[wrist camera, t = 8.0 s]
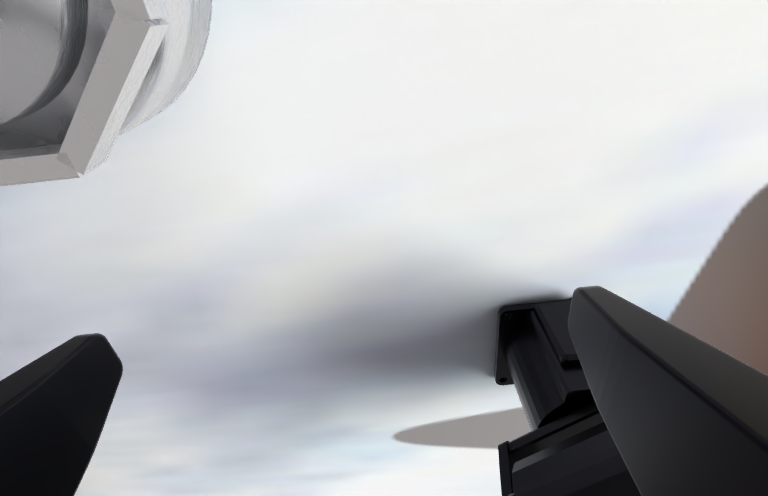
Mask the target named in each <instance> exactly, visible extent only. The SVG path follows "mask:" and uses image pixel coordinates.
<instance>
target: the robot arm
mask: <svg viewBox="0 0 768 496" xmlns="http://www.w3.org/2000/svg"><path fill="white" fill-rule="evenodd" d="M506 314H509V315H507V316H505V315H506ZM122 372H123V366H122V362H121V360H120V359H119V357H118V356H117V354H116V352H115V351H114V349H113V348H112V346H111V345H110V343H109V342H108V340H107V338H106V337H105V336H103V335H102V334H98V333H94V334H84V335H78V336H75V337H73V338H72V339H70V340H68V341H67V342H65V343H63V344H62V345H60V346H58V347H57V348H55V349H53V350H51V351H50V352H48V353H46V354H45V355H43V356H41V357H40V358H38V359H36V360H35V361H33V362H31V363H30V364H28V365H26V366H25V367H23V368H21V369H20V370H18V371H16V372H15V373H13V374H11V375H10V376H8V377H6V378H5V379H3V380H1V381H0V496H74V495H75V493H76V490H77V488H78V486H79V484H80V482H81V480H82V478H83V475H84V473H85V471H86V469H87V467H88V465H89V462H90V460H91V458H92V456H93V453H94V451H95V448H96V446H97V443H98V441H99V438H100V435H101V432H102V430H103V427H104V424H105V421H106V418H107V416H108V413H109V410H110V407H111V404H112V402H113V399H114V396H115V393H116V390H117V388H118V385H119V382H120V379H121V376H122ZM494 377H495V381H496V383H497V384H499V385H510V384H515V387H516V390H517V393H518V395H519V398H520V401H521V403H522V406H523V409H524V412H525V414H526V417H527V420H528V423H529V425H530V428H531V432H529V433H527V434H525V435H523V436H521V437H519V438H517V439H515V440H512V441H510V442H509V441H506V442H504V443H502V444H500V445H499V446H498V450H499V466H500V478H501V490H502V496H768V375H766V374H764V373H762V372H761V371H759V370H757V369H755V368H753V367H751V366H749V365H747V364H746V363H743V362H742V361H740V360H738V359H736V358H734V357H732V356H730V355H729V354H727V353H725V352H723V351H721V350H719V349H717V348H715V347H714V346H712V345H710V344H708V343H706V342H704V341H702V340H700V339H698V338H696V337H695V336H693V335H691V334H689V333H687V332H685V331H683V330H681V329H680V328H678V327H676V326H674V325H672V324H670V323H668V322H667V321H665V320H663V319H661V318H659V317H657V316H655V315H653V314H651V313H650V312H648V311H646V310H644V309H642V308H640V307H638V306H636V305H635V304H633V303H631V302H629V301H627V300H625V299H623V298H621V297H619V296H618V295H616V294H614V293H612V292H610V291H608V290H606V289H604V288H602V287H600V286H589V287H579V288H577V289H575V291H574V293H573V296H572V300H564V301H554V302H543V303H532V304H522V305H511V306H505V307H502V308H501V309H500V310H499V312H498V321H497V337H496V354H495V370H494Z"/></svg>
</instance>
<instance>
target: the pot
mask: <svg viewBox="0 0 768 496" xmlns="http://www.w3.org/2000/svg"><path fill="white" fill-rule="evenodd" d="M211 13H212V0H88V26H87V33H86V40H85V46H84V49H83V52H82V55H81V59H80V62H79V65H78V67H77V68H76V70H75V72H74V74H73V76H72V78H71V80H70V82H69V83H68V84H67V85H66V87H65V88H64V89H63V90H62V92H61V93H60V94H59V95H58V96H57V97H56V98H55V99H53V100H52V101H51V102H50V103H49V104H48V105H46V106H45V107H43V108H41V109H39V110H38V111H36V112H34V113H32V114H30V115H27V116H24V117H22V118H19V119H16V120H13V121H10V122H7V123H4V124H1V125H0V186H6V185H15V184H24V183H33V182H42V181H51V180H60V179H70V178H79V177H81V176H83V175H84V174H86V173H88V172H89V171H91V170H92V169H94V168H96V167H97V166H99V165H101V164H102V163H104V162H105V161H106V159H107V157H108V155H109V152H110V150H111V148H112V146H113V144H114V142H115V140H116V138H117V136H118V135H120V134H122V133H124V132H126V131H127V130H129V129H131V128H133V127H135V126H137V125H139V124H140V123H142V122H144V121H146V120H148V119H150V118H151V117H153V116H155V115H157V114H159V113H160V112H162V111H163V110H164V109H165V108H167V107H168V106H169V105H170V104H172V103H173V102H174V101H175V100H176V99H177V97H178V96H179V95H180V94H181V93H182V92H183V91H184V90H185V88H186V87H187V85H188V84H189V82H190V81H191V79H192V77H193V76H194V74H195V73H196V70H197V68H198V66H199V63H200V61H201V59H202V56H203V54H204V50H205V46H206V42H207V39H208V35H209V29H210V21H211Z"/></svg>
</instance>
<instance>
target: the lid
mask: <svg viewBox="0 0 768 496" xmlns="http://www.w3.org/2000/svg"><path fill="white" fill-rule="evenodd" d="M87 26H88V0H0V125H1V124H4V123H7V122H10V121H13V120H16V119H19V118H22V117H24V116H27V115H30V114H32V113H34V112H36V111H38V110H39V109H41V108H43V107H45V106H46V105H48V104H49V103H50V102H51V101H52V100H53V99H55V98H56V97H57V96H58V95H59V94H60V93H61V92H62V90H63V89H64V88H65V87H66V85H67V84H68V83H69V82H70V80H71V78H72V76H73V74H74V72H75V70H76V68H77V67H78V65H79V62H80V59H81V55H82V52H83V49H84V46H85V40H86V33H87Z"/></svg>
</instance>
